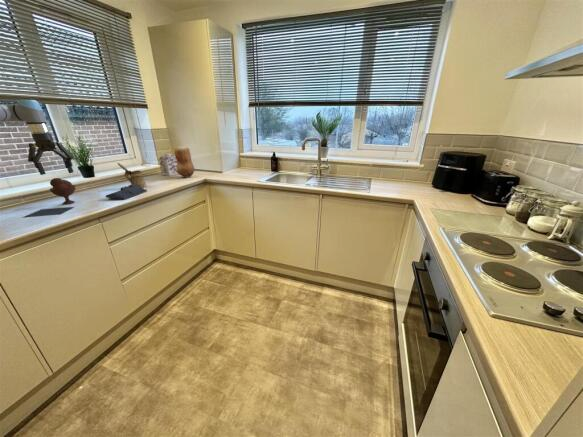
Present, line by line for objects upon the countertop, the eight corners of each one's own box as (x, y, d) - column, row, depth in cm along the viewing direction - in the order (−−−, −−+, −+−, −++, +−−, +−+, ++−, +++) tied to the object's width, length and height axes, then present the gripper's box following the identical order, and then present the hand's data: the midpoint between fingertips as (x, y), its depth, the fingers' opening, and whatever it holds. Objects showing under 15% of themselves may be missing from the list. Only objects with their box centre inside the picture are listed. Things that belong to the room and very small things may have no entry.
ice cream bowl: (70, 206, 134) (59, 179, 128) (50, 206, 134) (39, 180, 128) (85, 200, 143) (76, 175, 138) (67, 200, 144) (57, 175, 138)
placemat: (19, 219, 116) (19, 218, 116) (41, 209, 129) (41, 209, 129) (57, 216, 119) (57, 215, 119) (74, 207, 132) (74, 206, 132)
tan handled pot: (125, 187, 171) (117, 161, 164) (146, 184, 177) (140, 160, 170) (124, 190, 164) (116, 163, 157) (146, 187, 170) (140, 161, 163)
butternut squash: (175, 177, 198) (168, 146, 188) (189, 174, 208) (184, 144, 199) (185, 179, 190) (178, 147, 181) (199, 176, 201) (194, 145, 191)
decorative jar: (169, 176, 203) (164, 154, 197) (161, 175, 209) (156, 153, 202) (181, 173, 213) (177, 153, 206) (174, 172, 219) (170, 152, 212)
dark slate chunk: (101, 199, 143) (99, 192, 142) (129, 190, 164) (127, 183, 162) (124, 200, 141) (122, 192, 140) (149, 190, 162) (148, 183, 160)
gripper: (72, 131, 130) (86, 170, 138) (18, 133, 125) (36, 173, 133) (63, 132, 123) (78, 173, 131) (6, 134, 118) (25, 176, 127)
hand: (57, 173), depth 132 cm, fingers open, 13 cm apart
